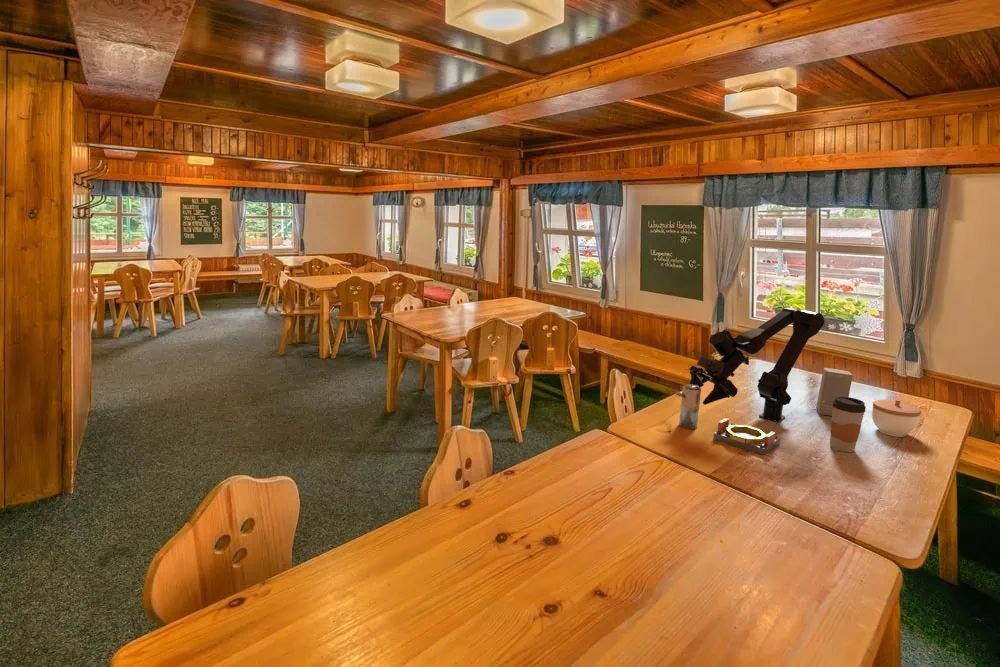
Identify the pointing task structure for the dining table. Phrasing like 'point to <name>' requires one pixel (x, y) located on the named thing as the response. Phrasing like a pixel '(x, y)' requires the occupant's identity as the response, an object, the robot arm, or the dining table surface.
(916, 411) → the lidded bowl
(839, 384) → the skincare box
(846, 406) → the coffee cup
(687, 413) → the spout can
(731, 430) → the grey base with ring
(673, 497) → the dining table surface
